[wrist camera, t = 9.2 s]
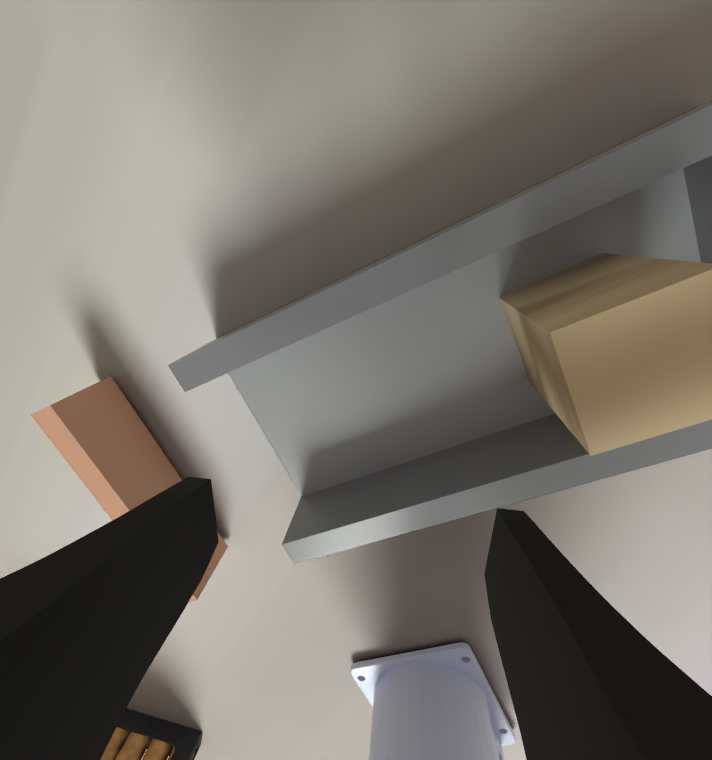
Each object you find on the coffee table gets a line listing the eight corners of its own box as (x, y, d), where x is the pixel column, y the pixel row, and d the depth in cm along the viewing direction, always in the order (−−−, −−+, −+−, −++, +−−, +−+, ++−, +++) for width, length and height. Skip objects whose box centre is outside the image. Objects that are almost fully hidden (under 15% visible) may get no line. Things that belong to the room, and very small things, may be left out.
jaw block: (628, 346, 16) (750, 407, 10) (529, 382, 17) (591, 456, 11) (603, 253, 15) (723, 264, 9) (499, 297, 16) (549, 332, 10)
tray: (746, 369, 16) (848, 410, 12) (314, 506, 21) (294, 564, 18) (701, 105, 13) (816, 54, 10) (216, 339, 19) (168, 365, 15)
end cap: (227, 546, 23) (196, 600, 19) (211, 551, 23) (178, 605, 20) (111, 376, 20) (49, 405, 16) (93, 384, 20) (30, 415, 17)
